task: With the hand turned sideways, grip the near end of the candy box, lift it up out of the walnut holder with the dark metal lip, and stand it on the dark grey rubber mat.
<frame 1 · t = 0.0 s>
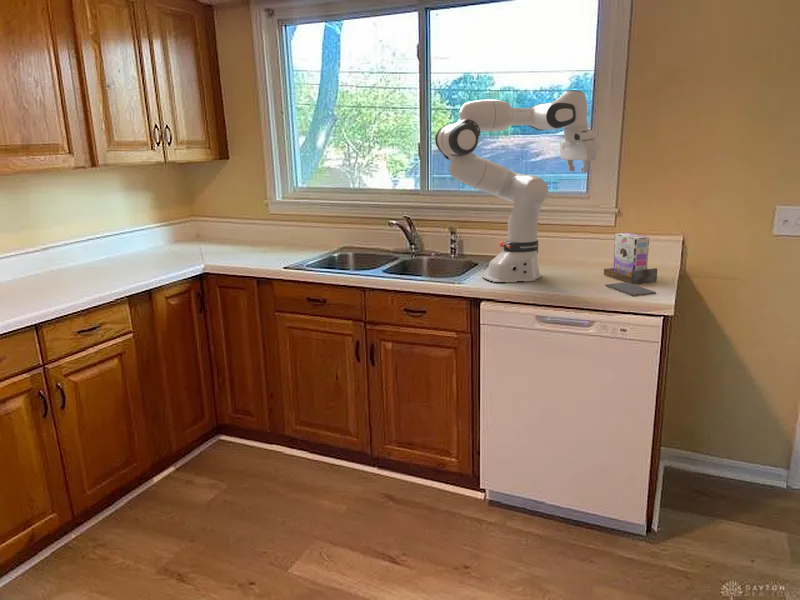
hand: (578, 171, 238), 39 cm above the worktop, tool pointing down, fingers open, 8 cm apart
mat: (629, 289, 216), on the worktop
candy box: (629, 279, 232), resting in holder
holder: (629, 278, 232), on the worktop
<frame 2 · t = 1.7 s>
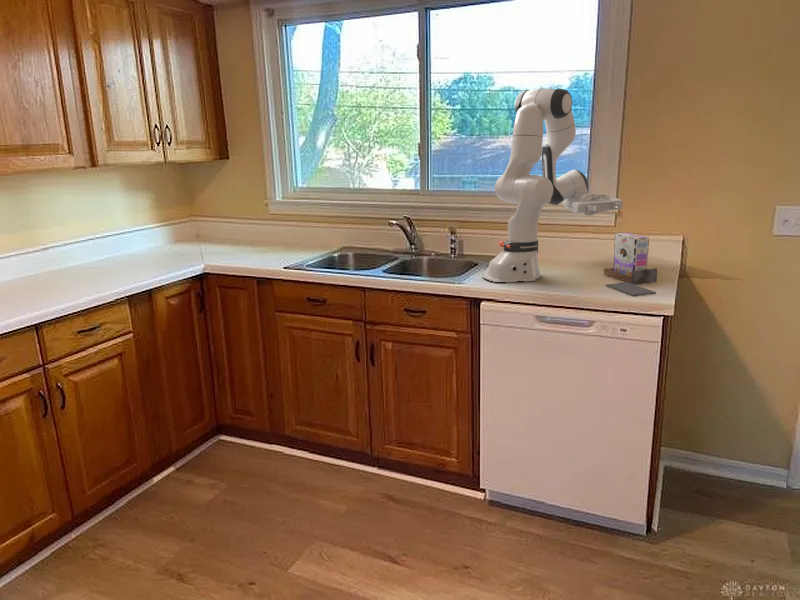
hand: (608, 207, 241), 25 cm above the worktop, tool horizontal, fingers open, 8 cm apart
nothing on the worktop moved.
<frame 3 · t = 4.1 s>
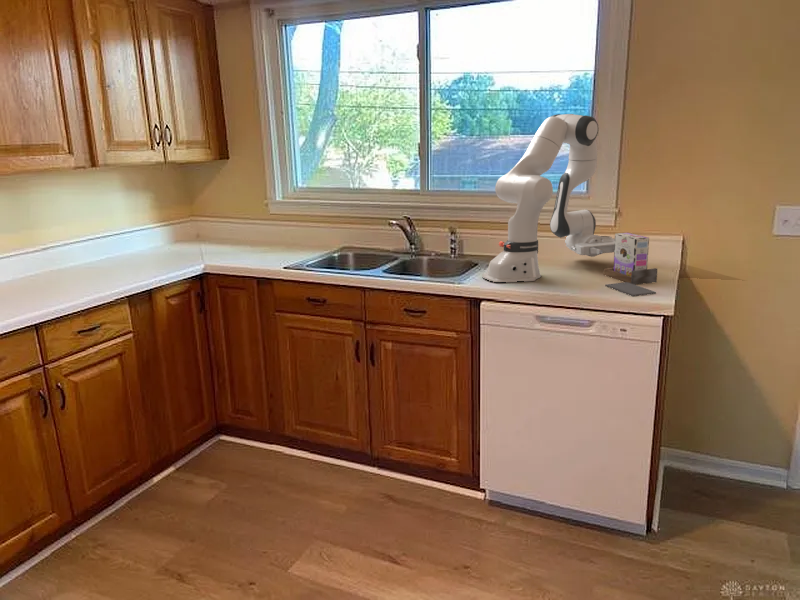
hand: (611, 250, 241), 8 cm above the worktop, tool horizontal, fingers open, 8 cm apart
nothing on the worktop moved.
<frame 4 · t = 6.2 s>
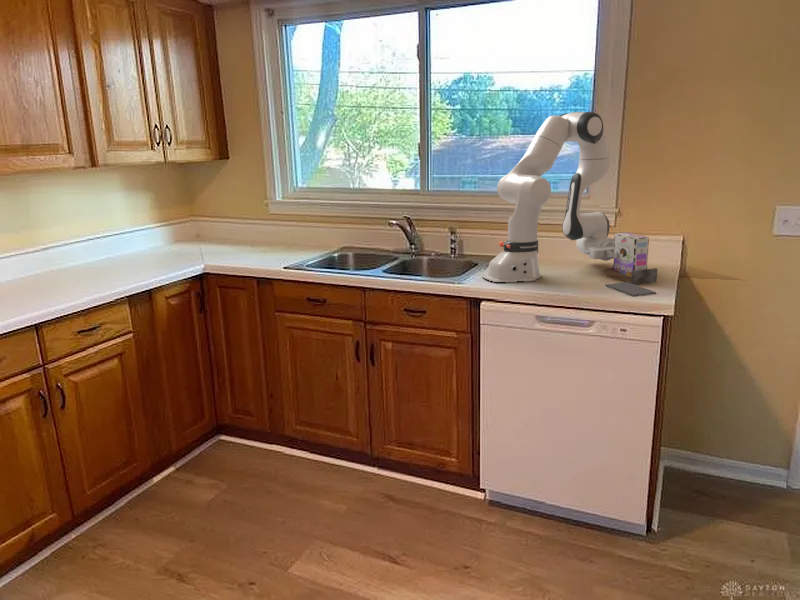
hand: (626, 254, 233), 9 cm above the worktop, tool horizontal, fingers closed on candy box, 6 cm apart
candy box: (629, 279, 232), resting in holder, touching gripper
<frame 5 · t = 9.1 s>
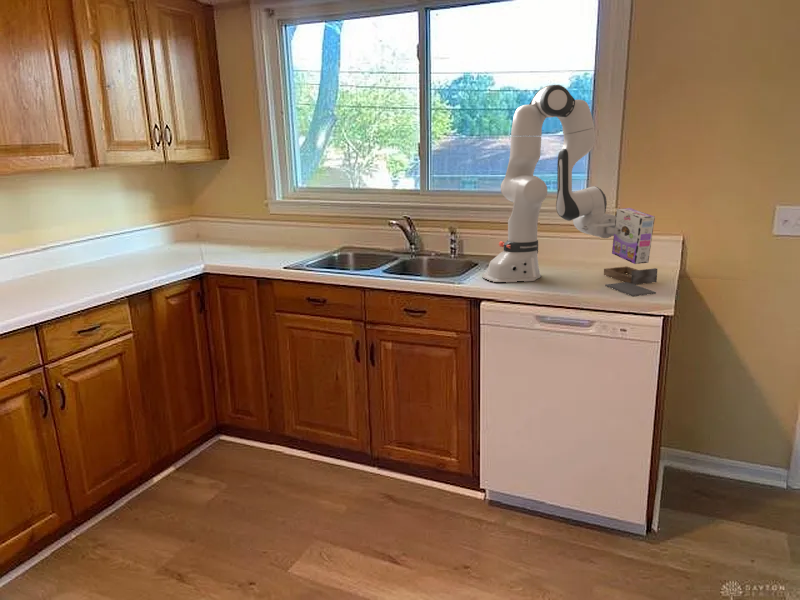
hand: (627, 230, 217), 20 cm above the worktop, tool horizontal, fingers closed on candy box, 6 cm apart
candy box: (629, 258, 218), point 10 cm above the worktop, touching gripper
when the fingers open (10 cm above the worktop, at t = 11.8 s): candy box stays where it is, resting on mat.
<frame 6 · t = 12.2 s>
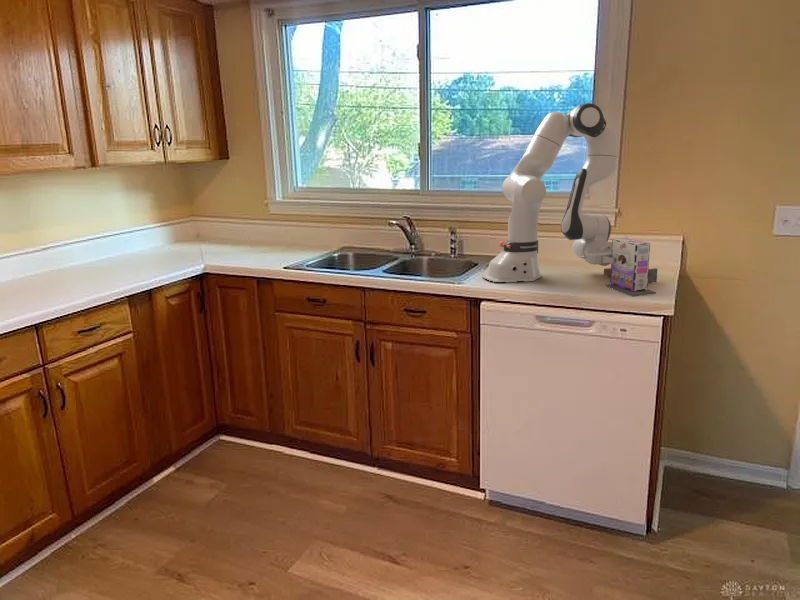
hand: (626, 259, 217), 10 cm above the worktop, tool horizontal, fingers open, 8 cm apart
candy box: (628, 287, 218), resting on mat
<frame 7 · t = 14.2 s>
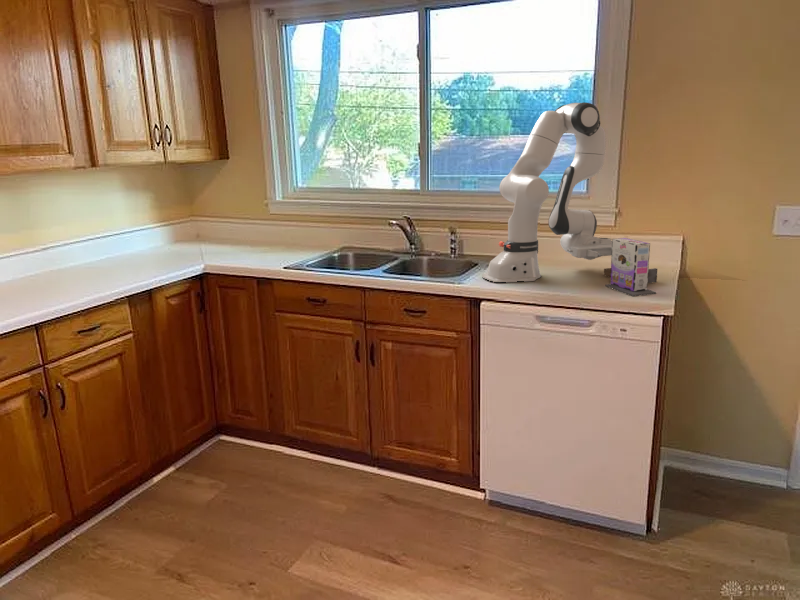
hand: (610, 253, 225), 11 cm above the worktop, tool horizontal, fingers open, 8 cm apart
nothing on the worktop moved.
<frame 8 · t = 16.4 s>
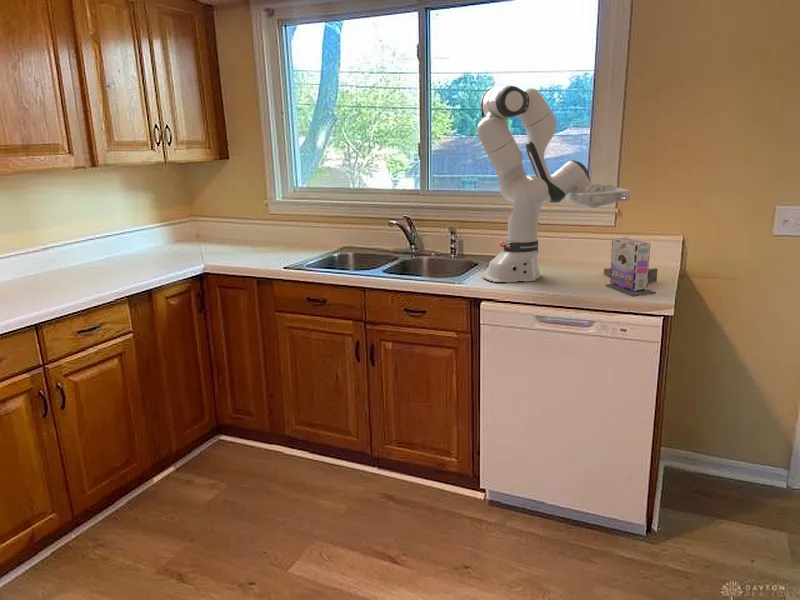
hand: (614, 198, 220), 30 cm above the worktop, tool horizontal, fingers open, 8 cm apart
nothing on the worktop moved.
at the end: candy box inside the target area (1.4 cm from its centre), resting on mat; candy box tilted 0°; the gripper is holding nothing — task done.
